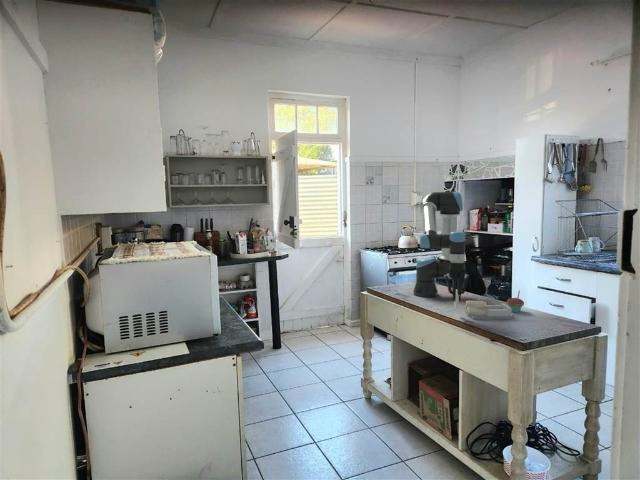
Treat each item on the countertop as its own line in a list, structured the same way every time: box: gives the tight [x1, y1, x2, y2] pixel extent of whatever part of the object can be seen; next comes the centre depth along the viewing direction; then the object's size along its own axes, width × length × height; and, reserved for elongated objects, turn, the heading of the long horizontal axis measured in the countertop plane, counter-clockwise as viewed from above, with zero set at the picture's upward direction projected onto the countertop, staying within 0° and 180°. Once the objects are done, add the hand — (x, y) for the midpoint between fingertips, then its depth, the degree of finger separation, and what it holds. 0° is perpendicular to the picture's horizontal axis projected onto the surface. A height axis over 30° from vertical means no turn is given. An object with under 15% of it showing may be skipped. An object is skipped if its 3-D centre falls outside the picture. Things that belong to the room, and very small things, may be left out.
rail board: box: [464, 302, 515, 321], centre depth 216 cm, size 14×20×5 cm
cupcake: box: [506, 289, 525, 313], centre depth 223 cm, size 9×8×12 cm
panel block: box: [465, 300, 488, 316], centre depth 216 cm, size 5×9×6 cm, turn 88°
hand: (456, 306), depth 216 cm, fingers closed
